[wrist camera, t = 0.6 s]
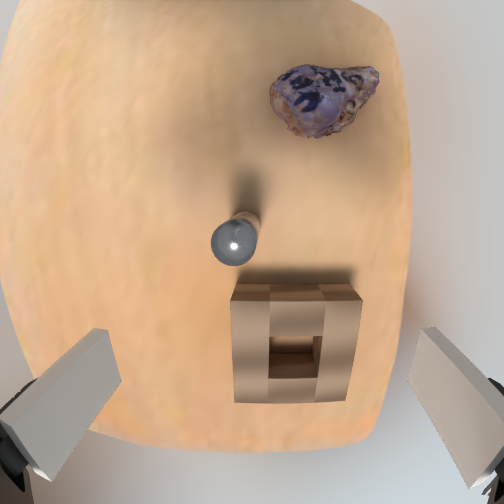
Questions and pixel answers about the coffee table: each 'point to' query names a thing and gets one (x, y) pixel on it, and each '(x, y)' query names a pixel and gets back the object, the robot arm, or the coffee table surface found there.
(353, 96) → the purple lumpy piece
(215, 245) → the pin
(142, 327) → the coffee table surface
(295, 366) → the socket block
